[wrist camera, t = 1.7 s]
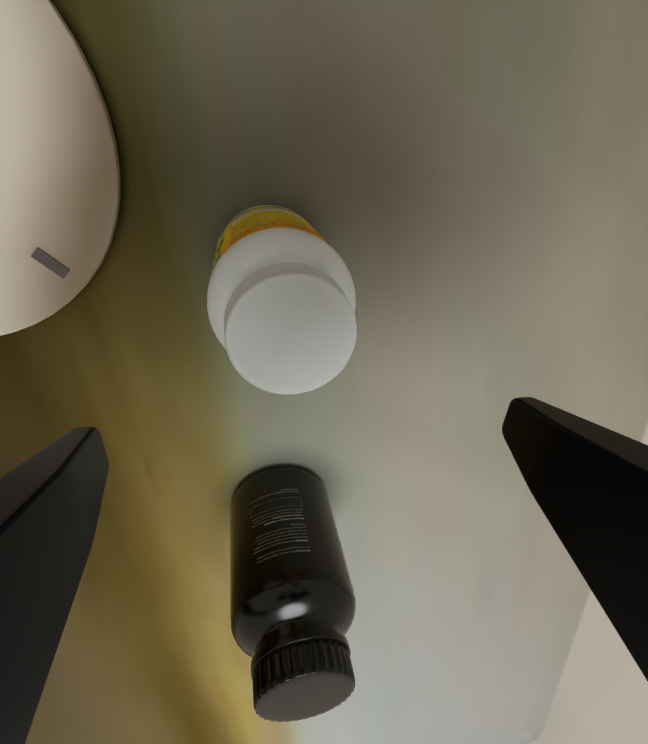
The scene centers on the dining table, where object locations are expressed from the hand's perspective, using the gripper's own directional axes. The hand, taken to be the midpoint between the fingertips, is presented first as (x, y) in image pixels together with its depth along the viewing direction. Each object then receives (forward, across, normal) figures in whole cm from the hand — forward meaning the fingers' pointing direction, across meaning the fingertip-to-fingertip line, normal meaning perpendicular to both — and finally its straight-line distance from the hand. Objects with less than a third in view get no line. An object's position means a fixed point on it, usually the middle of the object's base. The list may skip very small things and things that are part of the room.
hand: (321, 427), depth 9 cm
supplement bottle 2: (+14, 0, +17) cm, 22 cm away
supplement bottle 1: (+14, 0, 0) cm, 14 cm away
